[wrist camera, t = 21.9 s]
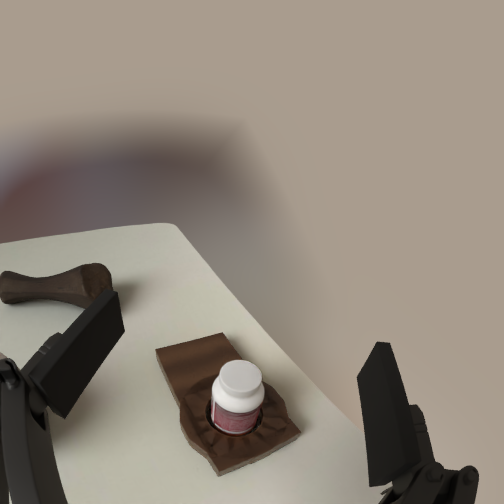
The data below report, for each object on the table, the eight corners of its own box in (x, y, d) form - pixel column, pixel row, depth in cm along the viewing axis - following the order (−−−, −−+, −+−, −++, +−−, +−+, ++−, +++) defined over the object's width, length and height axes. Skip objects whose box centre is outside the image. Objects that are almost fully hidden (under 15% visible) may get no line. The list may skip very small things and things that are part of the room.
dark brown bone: (118, 307, 52) (20, 314, 46) (112, 258, 52) (14, 270, 46) (105, 318, 42) (-4, 322, 35) (96, 258, 42) (-11, 272, 35)
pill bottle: (263, 428, 32) (280, 385, 27) (223, 445, 29) (229, 405, 24) (241, 397, 36) (251, 348, 32) (203, 410, 33) (203, 363, 28)
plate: (303, 436, 31) (308, 428, 30) (210, 480, 23) (210, 476, 22) (227, 340, 47) (228, 330, 46) (150, 360, 40) (148, 350, 39)
